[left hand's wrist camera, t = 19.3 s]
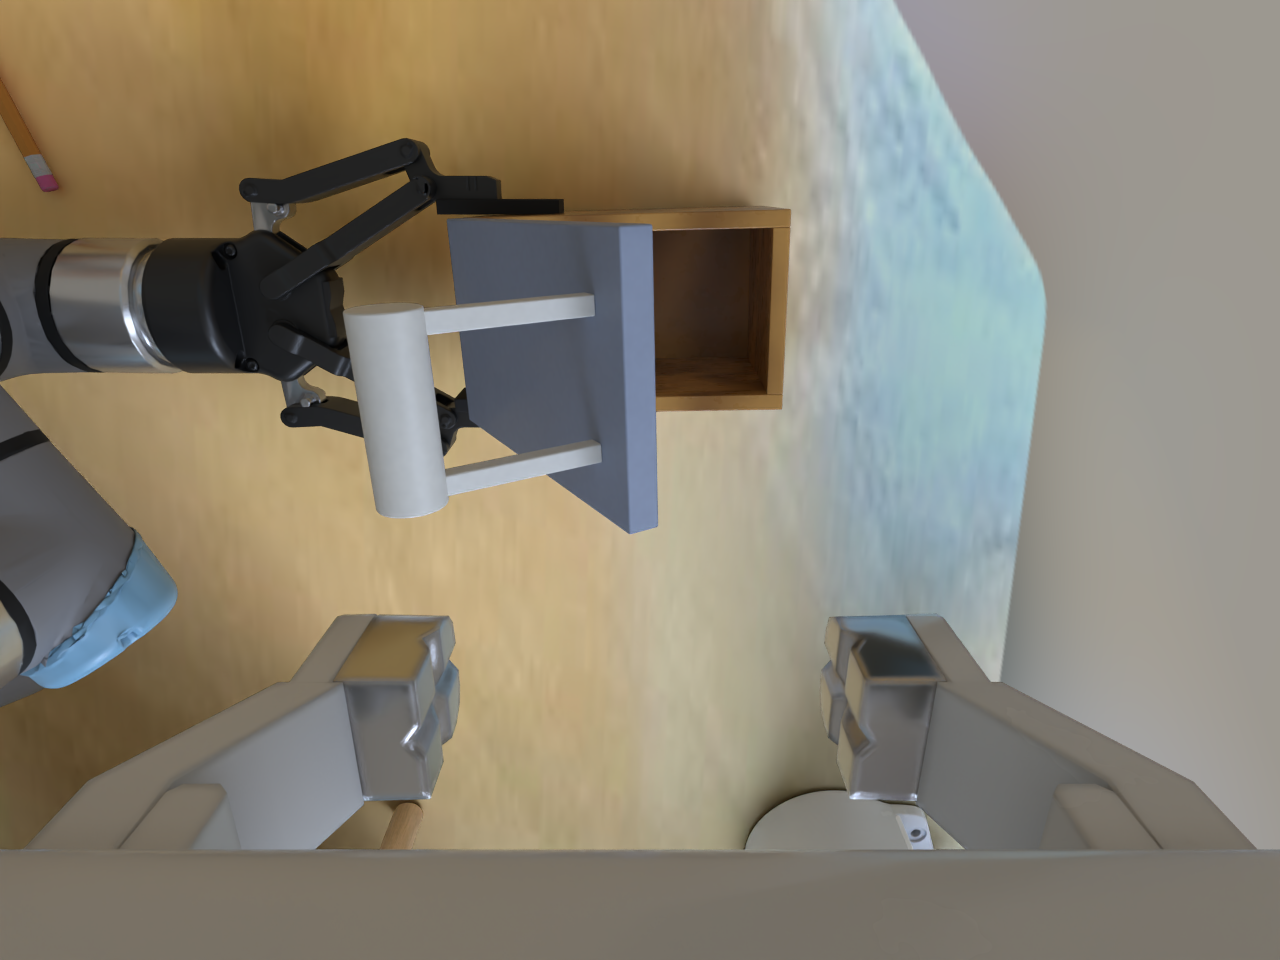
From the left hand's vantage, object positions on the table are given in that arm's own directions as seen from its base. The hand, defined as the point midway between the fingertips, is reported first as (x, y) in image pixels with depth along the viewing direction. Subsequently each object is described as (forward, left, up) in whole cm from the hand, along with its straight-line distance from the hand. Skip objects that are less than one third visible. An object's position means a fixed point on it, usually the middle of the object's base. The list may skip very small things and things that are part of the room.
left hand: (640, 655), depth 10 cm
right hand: (+2, +4, -34) cm, 34 cm away
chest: (0, 0, -40) cm, 40 cm away
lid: (+2, +3, -22) cm, 22 cm away
